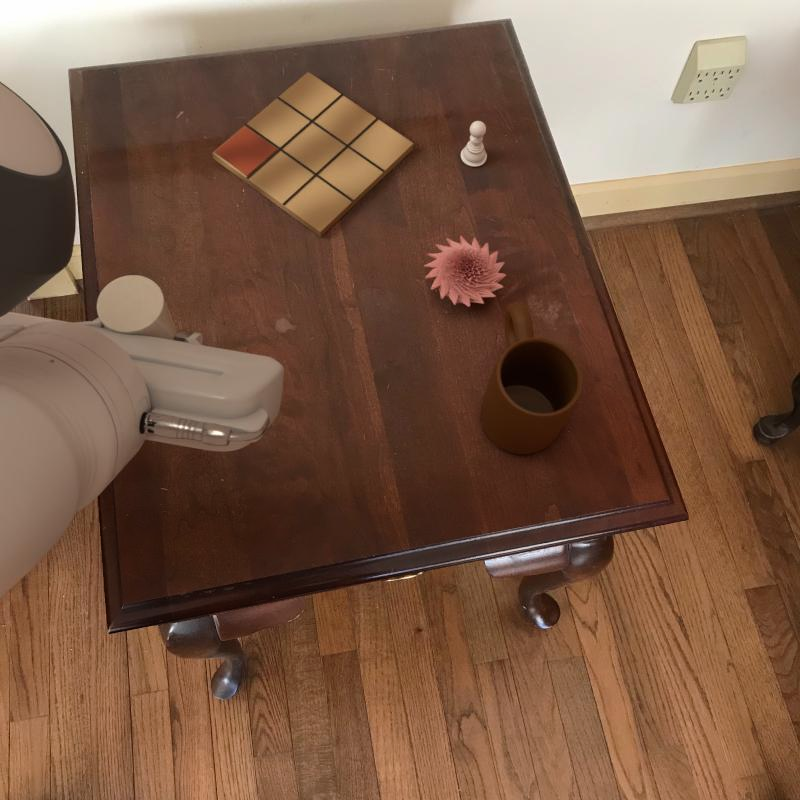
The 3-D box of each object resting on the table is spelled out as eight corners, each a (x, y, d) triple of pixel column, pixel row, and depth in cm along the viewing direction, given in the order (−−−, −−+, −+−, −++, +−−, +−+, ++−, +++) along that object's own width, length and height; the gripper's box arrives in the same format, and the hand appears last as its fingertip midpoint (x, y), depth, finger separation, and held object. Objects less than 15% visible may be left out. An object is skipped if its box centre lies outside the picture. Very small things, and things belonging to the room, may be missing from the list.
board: (213, 159, 88) (211, 151, 87) (308, 78, 93) (308, 70, 92) (320, 237, 85) (320, 231, 84) (413, 149, 90) (414, 142, 89)
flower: (498, 328, 81) (508, 299, 76) (417, 320, 81) (421, 290, 76) (502, 260, 85) (511, 228, 79) (424, 251, 84) (428, 219, 79)
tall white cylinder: (130, 387, 61) (82, 305, 50) (170, 350, 63) (131, 263, 52) (169, 420, 60) (128, 344, 49) (208, 382, 62) (177, 300, 51)
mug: (462, 346, 80) (475, 296, 72) (538, 336, 81) (560, 285, 73) (488, 462, 76) (505, 424, 67) (568, 451, 77) (595, 411, 68)
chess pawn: (469, 171, 89) (476, 139, 84) (455, 153, 90) (460, 120, 85) (491, 161, 89) (499, 128, 85) (477, 142, 90) (483, 109, 86)
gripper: (261, 389, 41) (310, 316, 54) (-140, 320, 42) (3, 263, 55) (249, 500, 44) (299, 405, 57) (-130, 433, 44) (5, 354, 57)
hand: (152, 335), depth 56 cm, fingers closed on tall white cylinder, 4 cm apart
